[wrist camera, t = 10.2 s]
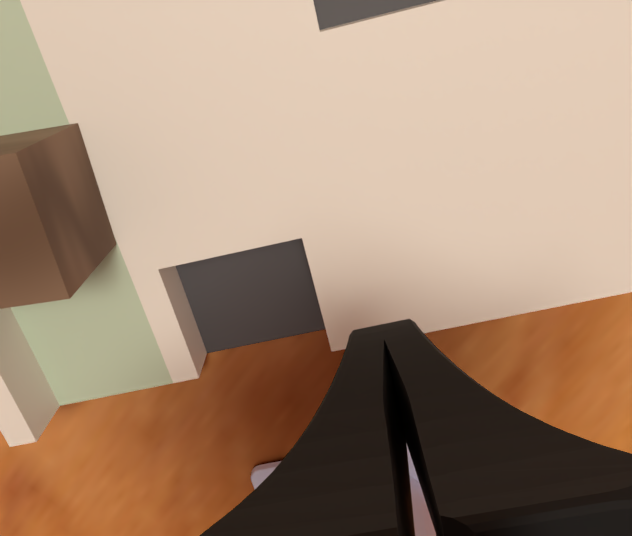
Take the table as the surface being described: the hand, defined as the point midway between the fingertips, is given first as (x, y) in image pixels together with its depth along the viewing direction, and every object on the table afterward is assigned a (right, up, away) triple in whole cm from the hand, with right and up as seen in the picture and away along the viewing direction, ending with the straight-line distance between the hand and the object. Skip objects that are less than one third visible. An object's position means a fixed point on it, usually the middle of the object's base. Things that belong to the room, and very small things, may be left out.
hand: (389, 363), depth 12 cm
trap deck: (-1, +7, +7) cm, 10 cm away
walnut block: (-11, +4, +6) cm, 13 cm away
